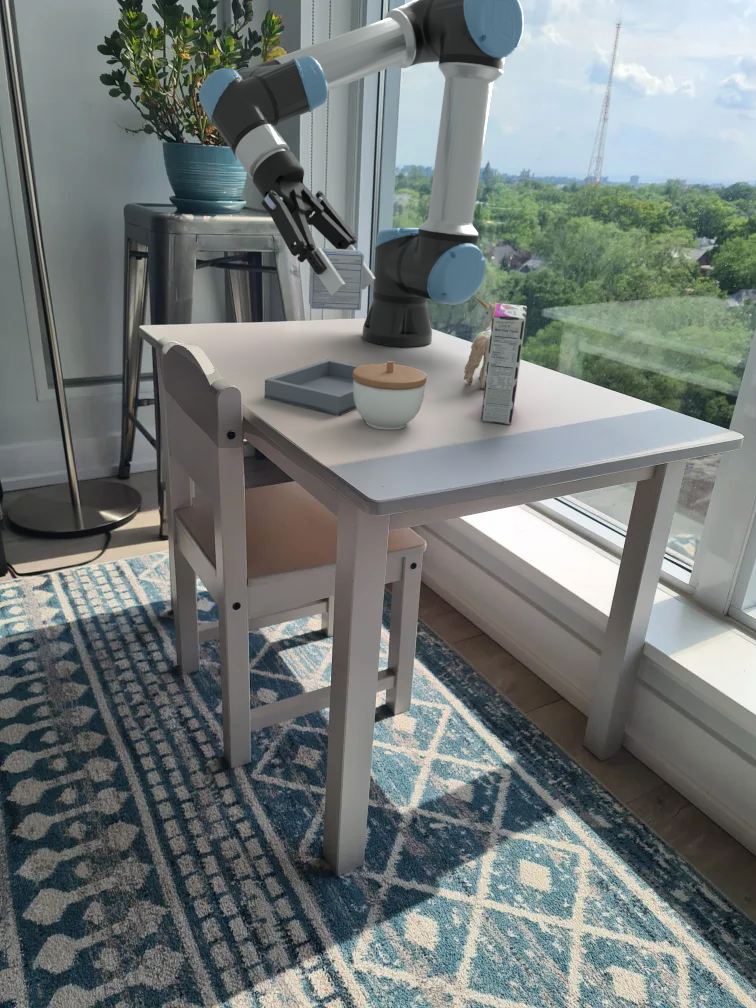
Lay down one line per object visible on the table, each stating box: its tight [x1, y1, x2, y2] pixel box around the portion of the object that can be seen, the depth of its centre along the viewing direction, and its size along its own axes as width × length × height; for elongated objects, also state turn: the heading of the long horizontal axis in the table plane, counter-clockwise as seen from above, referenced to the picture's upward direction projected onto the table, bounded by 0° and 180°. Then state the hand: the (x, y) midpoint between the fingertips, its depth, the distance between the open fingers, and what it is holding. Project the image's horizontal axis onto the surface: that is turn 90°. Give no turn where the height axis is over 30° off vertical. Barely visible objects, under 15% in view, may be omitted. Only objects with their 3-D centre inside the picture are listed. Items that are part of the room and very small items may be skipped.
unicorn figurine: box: [463, 296, 499, 390], centre depth 138 cm, size 7×20×13 cm, turn 171°
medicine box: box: [308, 247, 365, 311], centre depth 119 cm, size 8×4×9 cm, turn 100°
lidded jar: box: [353, 360, 427, 431], centre depth 112 cm, size 11×11×9 cm
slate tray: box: [264, 358, 360, 417], centre depth 126 cm, size 18×14×3 cm
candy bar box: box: [480, 302, 528, 425], centre depth 119 cm, size 11×5×16 cm, turn 168°
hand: (354, 286), depth 117 cm, fingers closed on medicine box, 8 cm apart
